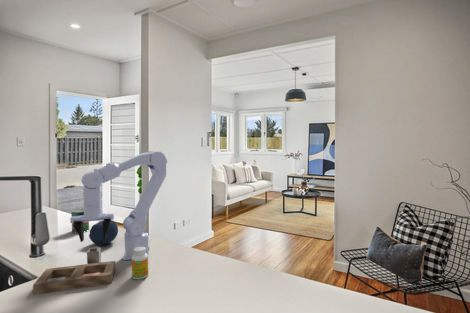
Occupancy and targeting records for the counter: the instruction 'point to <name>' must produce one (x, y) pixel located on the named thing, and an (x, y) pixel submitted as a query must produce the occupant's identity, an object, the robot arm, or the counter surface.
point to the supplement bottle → (139, 263)
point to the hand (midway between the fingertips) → (93, 239)
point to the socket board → (74, 277)
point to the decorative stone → (97, 233)
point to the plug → (94, 255)
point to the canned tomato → (78, 213)
